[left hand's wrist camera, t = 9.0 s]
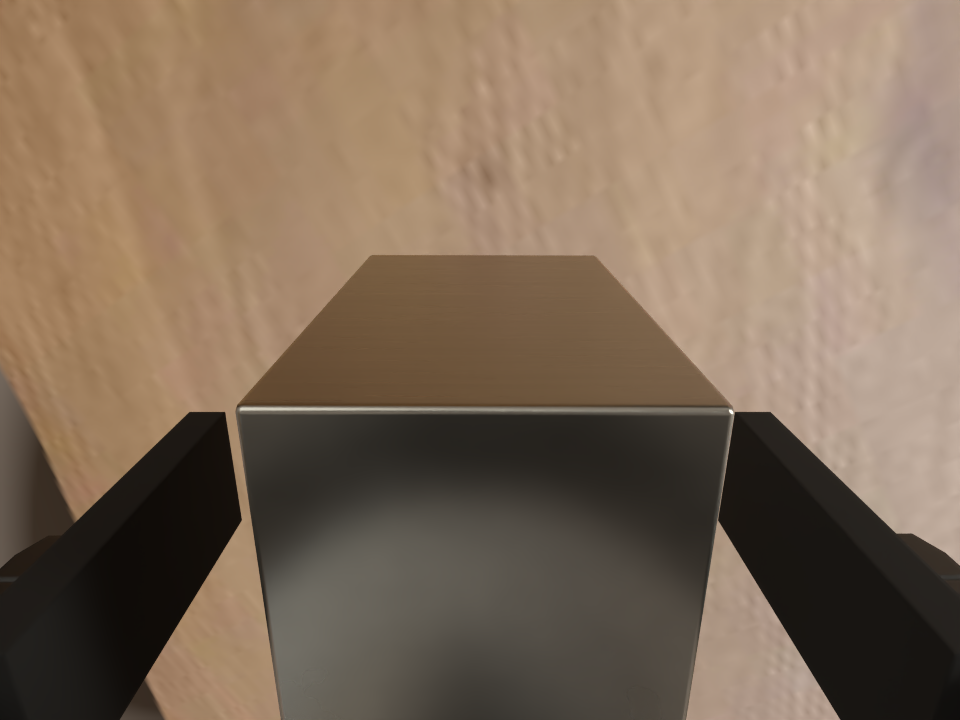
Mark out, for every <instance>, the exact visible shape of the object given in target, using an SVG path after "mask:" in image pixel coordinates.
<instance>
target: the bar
mask: <svg viewBox="0 0 960 720" xmlns="http://www.w3.org/2000/svg"><path fill="white" fill-rule="evenodd" d="M733 417H734V410H733V407H732V405H731V404H730V403H729V402H728V401H727V400H726V399H725V398H724V397H723V395H722V394H721V393H720V392H719V391H718V390H717V389H716V388H715V387H714V386H713V384H712V383H711V382H710V381H709V380H708V379H707V378H706V377H705V376H704V375H703V374H702V372H701V371H700V370H699V369H698V368H697V367H696V366H695V365H694V364H693V363H692V361H691V360H690V359H689V358H688V357H687V356H686V355H685V354H684V353H683V352H682V351H681V349H680V348H679V347H678V346H677V345H676V344H675V343H674V342H673V341H672V340H671V338H670V337H669V336H668V335H667V334H666V333H665V332H664V331H663V330H662V329H661V327H660V326H659V325H658V324H657V323H656V322H655V321H654V320H653V319H652V318H651V317H650V315H649V314H648V313H647V312H646V311H645V310H644V309H643V308H642V307H641V306H640V304H639V303H638V302H637V301H636V300H635V299H634V298H633V297H632V296H631V295H630V294H629V292H628V291H627V290H626V289H625V288H624V287H623V286H622V285H621V284H620V283H619V281H618V280H617V279H616V278H615V277H614V276H613V275H612V274H611V273H610V272H609V270H608V269H607V268H606V267H605V266H604V265H603V264H602V263H601V262H600V261H599V260H598V258H597V257H595V256H507V255H372V256H370V257H369V258H368V259H367V260H366V261H365V262H364V264H363V265H362V266H361V267H360V268H359V269H358V270H357V271H356V272H355V274H354V275H353V276H352V277H351V278H350V279H349V280H348V281H347V283H346V284H345V285H344V286H343V287H342V288H341V289H340V290H339V292H338V293H337V294H336V295H335V296H334V297H333V298H332V299H331V301H330V302H329V303H328V304H327V305H326V306H325V307H324V308H323V310H322V311H321V312H320V313H319V314H318V315H317V316H316V317H315V318H314V320H313V321H312V322H311V323H310V324H309V325H308V326H307V327H306V329H305V330H304V331H303V332H302V333H301V334H300V335H299V336H298V338H297V339H296V340H295V341H294V342H293V343H292V344H291V345H290V347H289V348H288V349H287V350H286V351H285V352H284V353H283V354H282V356H281V357H280V358H279V359H278V360H277V361H276V362H275V363H274V364H273V366H272V367H271V368H270V369H269V370H268V371H267V372H266V373H265V375H264V376H263V377H262V378H261V379H260V380H259V381H258V382H257V384H256V385H255V386H254V387H253V388H252V389H251V390H250V391H249V393H248V394H247V395H246V396H245V397H244V398H243V399H242V400H241V402H240V403H239V404H238V405H237V408H236V418H237V425H238V431H239V438H240V445H241V452H242V458H243V465H244V472H245V479H246V486H247V492H248V499H249V506H250V513H251V519H252V526H253V533H254V540H255V546H256V553H257V560H258V567H259V574H260V580H261V587H262V594H263V601H264V607H265V614H266V621H267V628H268V634H269V641H270V648H271V655H272V662H273V668H274V675H275V682H276V689H277V695H278V702H279V709H280V716H281V720H686V716H687V709H688V703H689V696H690V690H691V684H692V677H693V671H694V665H695V658H696V652H697V646H698V639H699V633H700V626H701V620H702V614H703V607H704V601H705V595H706V588H707V582H708V576H709V569H710V563H711V557H712V550H713V544H714V537H715V531H716V525H717V518H718V512H719V506H720V499H721V493H722V487H723V480H724V474H725V467H726V461H727V455H728V448H729V442H730V436H731V429H732V423H733Z"/></svg>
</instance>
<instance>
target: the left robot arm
mask: <svg viewBox="0 0 960 720" xmlns="http://www.w3.org/2000/svg"><path fill="white" fill-rule="evenodd" d="M241 521H242V518H241V512H240V505H239V499H238V492H237V486H236V480H235V473H234V467H233V460H232V454H231V448H230V441H229V435H228V428H227V422H226V415H225V412H189V413H188V414H187V415H186V416H185V417H184V418H183V419H182V420H181V421H180V422H179V423H178V424H177V425H176V426H175V427H174V428H173V429H172V430H171V431H170V432H169V433H167V434H166V435H165V436H164V437H163V438H162V439H161V440H160V441H159V442H158V443H157V444H156V445H155V446H154V447H153V448H152V449H151V450H150V451H149V452H148V453H147V454H146V455H145V456H144V457H143V458H142V459H141V460H140V461H139V462H137V463H136V464H135V465H134V466H133V467H132V468H131V469H130V470H129V471H128V472H127V473H126V474H125V475H124V476H123V477H122V478H121V479H120V480H119V481H118V482H117V483H116V484H115V485H114V486H113V487H112V488H111V489H110V490H109V491H107V492H106V493H105V494H104V495H103V496H102V497H101V498H100V499H99V500H98V501H97V502H96V503H95V504H94V505H93V506H92V507H91V508H90V509H89V510H88V511H87V512H86V513H85V514H84V515H83V516H82V517H81V518H80V519H79V520H77V521H76V522H75V523H74V524H73V525H72V526H71V527H70V528H69V529H68V530H67V531H66V532H65V533H64V534H63V535H62V536H47V537H45V538H44V539H42V540H40V541H39V542H37V543H35V544H33V545H32V546H30V547H28V548H26V549H25V550H23V551H21V552H20V553H18V554H16V555H15V556H14V557H12V558H11V559H10V560H9V561H8V562H7V563H6V564H5V565H4V566H3V567H1V568H0V720H120V718H121V717H122V715H123V713H124V712H125V710H126V708H127V707H128V705H129V703H130V702H131V700H132V699H133V697H134V695H135V694H136V692H137V690H138V689H139V687H140V686H141V684H142V682H143V681H144V679H145V677H146V676H147V674H148V672H149V671H150V669H151V668H152V666H153V664H154V663H155V661H156V659H157V658H158V656H159V655H160V653H161V651H162V650H163V648H164V646H165V645H166V643H167V641H168V640H169V638H170V637H171V635H172V633H173V632H174V630H175V628H176V627H177V625H178V624H179V622H180V620H181V619H182V617H183V615H184V614H185V612H186V610H187V609H188V607H189V606H190V604H191V602H192V601H193V599H194V597H195V596H196V594H197V592H198V591H199V589H200V588H201V586H202V584H203V583H204V581H205V579H206V578H207V576H208V575H209V573H210V571H211V570H212V568H213V566H214V565H215V563H216V561H217V560H218V558H219V557H220V555H221V553H222V552H223V550H224V548H225V547H226V545H227V544H228V542H229V540H230V539H231V537H232V535H233V534H234V532H235V530H236V529H237V527H238V526H239V524H240V522H241ZM718 521H719V522H720V524H721V526H722V527H723V529H724V530H725V532H726V534H727V535H728V537H729V539H730V540H731V542H732V544H733V545H734V547H735V548H736V550H737V552H738V553H739V555H740V557H741V558H742V560H743V562H744V563H745V565H746V566H747V568H748V570H749V571H750V573H751V575H752V576H753V578H754V579H755V581H756V583H757V584H758V586H759V588H760V589H761V591H762V593H763V594H764V596H765V597H766V599H767V601H768V602H769V604H770V606H771V607H772V609H773V610H774V612H775V614H776V615H777V617H778V619H779V620H780V622H781V624H782V625H783V627H784V628H785V630H786V632H787V633H788V635H789V637H790V638H791V640H792V641H793V643H794V645H795V646H796V648H797V650H798V651H799V653H800V655H801V656H802V658H803V659H804V661H805V663H806V664H807V666H808V668H809V669H810V671H811V672H812V674H813V676H814V677H815V679H816V681H817V682H818V684H819V686H820V687H821V689H822V690H823V692H824V694H825V695H826V697H827V699H828V700H829V702H830V704H831V705H832V707H833V708H834V710H835V712H836V713H837V715H838V717H839V718H840V720H960V566H959V565H958V564H957V563H956V562H955V561H954V560H953V559H952V558H951V557H949V556H948V555H947V554H946V553H945V552H943V551H941V550H939V549H938V548H936V547H934V546H933V545H931V544H929V543H927V542H926V541H924V540H922V539H920V538H919V537H917V536H915V535H913V534H896V533H895V532H894V531H893V530H892V529H891V528H890V527H889V526H888V525H887V524H886V523H885V522H884V521H883V520H881V519H880V518H879V517H878V516H877V515H876V514H875V513H874V512H873V511H872V510H871V509H870V508H869V507H868V506H867V505H866V504H865V503H864V502H863V501H862V500H861V499H860V498H859V497H858V496H857V495H856V494H855V493H854V492H853V491H851V490H850V489H849V488H848V487H847V486H846V485H845V484H844V483H843V482H842V481H841V480H840V479H839V478H838V477H837V476H836V475H835V474H834V473H833V472H832V471H831V470H830V469H829V468H828V467H827V466H826V465H825V464H824V463H823V462H821V461H820V460H819V459H818V458H817V457H816V456H815V455H814V454H813V453H812V452H811V451H810V450H809V449H808V448H807V447H806V446H805V445H804V444H803V443H802V442H801V441H800V440H799V439H798V438H797V437H796V436H795V435H794V434H793V433H791V432H790V431H789V430H788V429H787V428H786V427H785V426H784V425H783V424H782V423H781V422H780V421H779V420H778V419H777V418H776V417H775V416H774V415H773V414H772V413H771V412H735V415H734V422H733V428H732V435H731V441H730V447H729V454H728V460H727V467H726V473H725V480H724V486H723V492H722V499H721V505H720V512H719V518H718Z"/></svg>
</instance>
